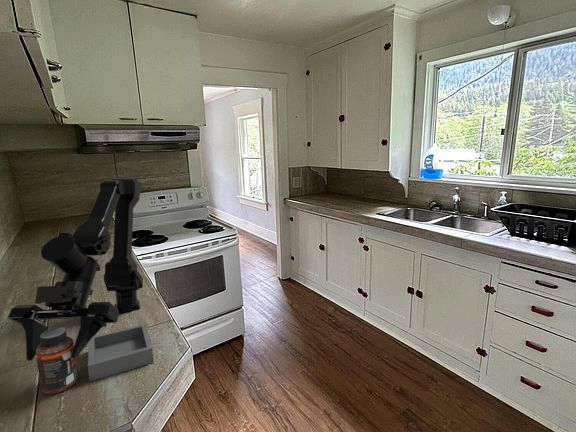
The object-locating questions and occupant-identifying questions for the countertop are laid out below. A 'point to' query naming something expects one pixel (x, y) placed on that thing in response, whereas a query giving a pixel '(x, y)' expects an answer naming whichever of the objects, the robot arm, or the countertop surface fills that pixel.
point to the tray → (119, 351)
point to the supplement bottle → (56, 361)
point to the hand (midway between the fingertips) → (51, 359)
